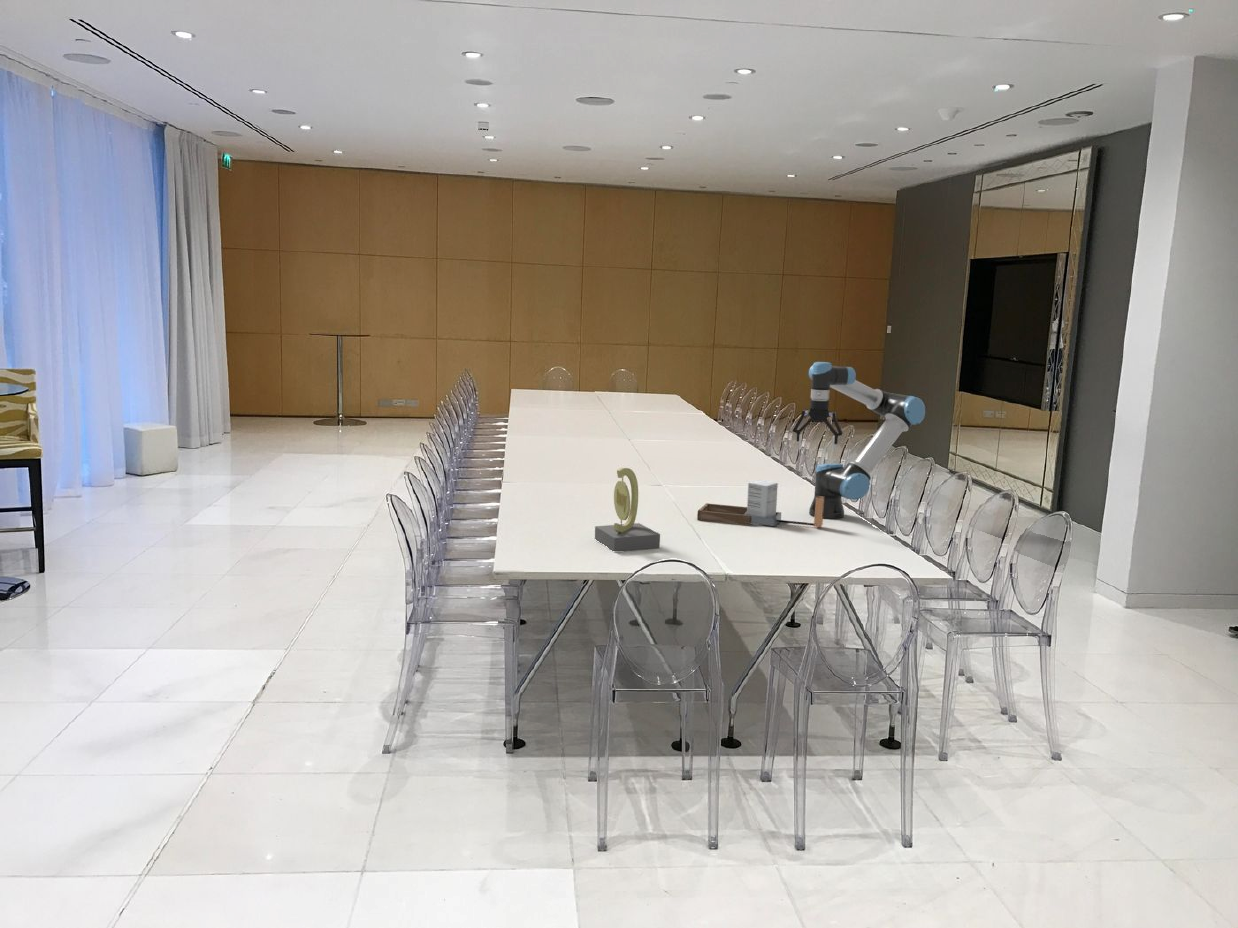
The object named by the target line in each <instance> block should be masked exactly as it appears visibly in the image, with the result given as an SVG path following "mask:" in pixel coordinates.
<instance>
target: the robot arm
mask: <svg viewBox="0 0 1238 928" xmlns="http://www.w3.org/2000/svg"><path fill="white" fill-rule="evenodd" d="M856 375H857V374H856V371H855V369H854V368H853V367H851V366H837V365H832V363H831V362H827V361H826V362H825V361H815V362H814V363H813V364H812V365H811V366H810V368H809V369H808V377H809V378H810V380H811V387H810V399H811V400H810V402H809V411H808V410H805V409H803V410H801V416H799V419H798V420H797V422H796V423H795V426H794V427H793V429H792V432H793V433H795V434H796V442H798V451H800V450H802V442H803V441H802V440H803V433H801V432H803V431H804V430H805V428H807V426H809V424H811V422H813V423H824V424H825V425H826V426H827V427H828V430H830V432H831V433H832V434H833V436H832V444H831V445H832V446H831V453H834V452H835V445H837V444H838V440H839V437H841V436H842V435H843V434H844V433H843V430H842V428H841V425H840V423H839V421H838V419H837V413H836V411H833V412H830V411H829V408H830V407H829V406H830V405H829V404H830V401H829V399H830V391H831V388H832V389H833V390H835V391H837V392H839V393H842V394H843V395H845V396H847V397H849V398H851V399H853V400H855V401H858V402H860V403H861V404H864V405H865V406H866V408H867V409H869V410H871V411H872V412H874V413H876V414H877V415H880V416H881V417H882V418H883V417H884V418H885V421H884V422H883V423H882V424H881V426H880V427H879V428H878V429H877V431H876V432H875V433H874V435H873V436H872V437H871V439H870V440H869V442H868V443H867V444H866V445H865V447H863V449H862V451H860V453H859V454H858V455H857V457H856V458H855V459H854V460H853V461H849V462H848V463H847V464H846V465H845V466H844V463H835V462H833V463H829V462H828V463H827V462H826V463H818V464H817V466H816V468H815V469H816V470H815V481H814V496H813V499H812V502H811V504H810V506H809V511H808V514H809V516H812V517H815V503H816V497H817V496H825V497H824V511H823V519H828V520H829V519H836V520H837V519H841V518H844V517H845V509H844V508H845V507H844V506H843V505H844V504H843V500H842V498H845V499H847V500H855V501H856V500H861V499H863V497H865V496H866V495H867V493H868V492H869V490H870V486H871V483H870V481H871V479H872V475H871V473H872V472H873V471H874V469H875V468H876V466H878V464H879V463H880V462H881V461H882V459H883V458H884V456H885V455H887V452H888V451H889V450H890V449H891V447H892V446H893V444H895V442H896V441H897V439H898V438H899V436H900V435H902V433H903V432H908V431H909V430H910V429H911V427H912V425H913V426H914V425H915V426H916V425H919V424H921V422H923V420H924V419H925V415H926V406H925V403H924V402H923V400H922V399H921V398H919V397H916V396H913V395H905V394H899V393H893V392H887V391H884V390H881V389H879V388H875V389H874V388H872V387H870V386H868V385H866V384H864V383H862V382H860V381H858V380H857V379H856ZM806 416H809V418H808V419H807V421H806V422H804V424H803V425H802V426H801V427H800V425H801V423H802V421H803V420H804V418H805V417H806ZM829 416H830V418H831V419H832V420H833V423H834V426H835V427H836V429H835V428H834V427H833V425H832V424H831V423H830V421H829V420H828V417H829ZM799 427H800V428H799ZM836 430H837V431H836Z"/></svg>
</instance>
